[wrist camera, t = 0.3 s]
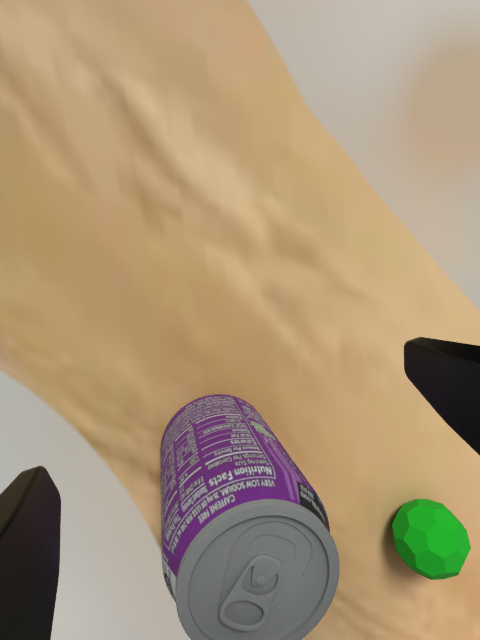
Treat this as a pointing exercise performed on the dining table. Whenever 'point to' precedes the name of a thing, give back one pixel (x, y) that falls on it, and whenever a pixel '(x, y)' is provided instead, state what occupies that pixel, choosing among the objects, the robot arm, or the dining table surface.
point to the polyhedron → (430, 539)
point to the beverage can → (241, 528)
